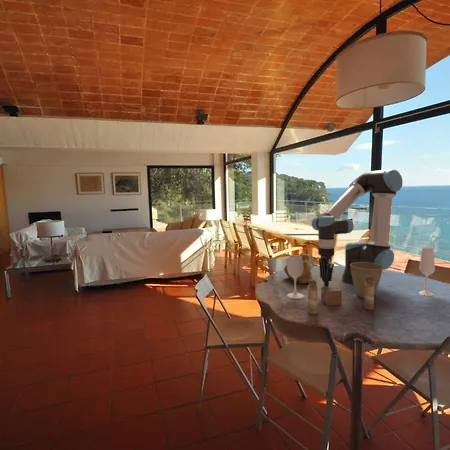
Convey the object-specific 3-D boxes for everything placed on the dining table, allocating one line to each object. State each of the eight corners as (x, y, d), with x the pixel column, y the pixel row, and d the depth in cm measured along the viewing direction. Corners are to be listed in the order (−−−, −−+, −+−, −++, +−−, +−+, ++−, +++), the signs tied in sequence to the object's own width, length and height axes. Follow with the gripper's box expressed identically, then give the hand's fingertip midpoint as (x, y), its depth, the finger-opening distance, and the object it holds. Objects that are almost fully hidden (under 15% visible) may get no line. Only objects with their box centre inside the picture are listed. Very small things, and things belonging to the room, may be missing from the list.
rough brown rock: (286, 274, 199) (284, 252, 197) (312, 274, 193) (310, 251, 192) (282, 286, 177) (280, 262, 175) (311, 286, 171) (309, 260, 170)
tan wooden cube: (321, 300, 148) (321, 286, 147) (334, 299, 149) (334, 285, 148) (327, 305, 141) (327, 291, 140) (341, 304, 142) (341, 290, 141)
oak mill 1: (306, 310, 136) (306, 278, 134) (314, 310, 136) (315, 278, 135) (310, 314, 132) (310, 281, 130) (318, 313, 132) (318, 280, 131)
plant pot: (360, 302, 144) (361, 270, 143) (344, 292, 159) (344, 263, 157) (388, 299, 147) (389, 268, 145) (369, 290, 161) (370, 261, 159)
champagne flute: (418, 291, 158) (420, 246, 155) (433, 293, 154) (436, 247, 151) (417, 294, 152) (419, 248, 150) (433, 297, 149) (435, 249, 146)
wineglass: (294, 300, 149) (294, 259, 147) (283, 295, 157) (283, 256, 154) (307, 297, 153) (307, 257, 151) (296, 292, 161) (296, 254, 158)
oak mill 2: (362, 306, 139) (363, 275, 137) (370, 306, 139) (371, 274, 138) (367, 309, 135) (368, 277, 133) (375, 309, 135) (376, 277, 134)
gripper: (313, 245, 154) (313, 289, 156) (324, 249, 141) (323, 298, 143) (327, 244, 155) (326, 289, 157) (339, 249, 142) (338, 297, 144)
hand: (325, 293), depth 150 cm, fingers closed
